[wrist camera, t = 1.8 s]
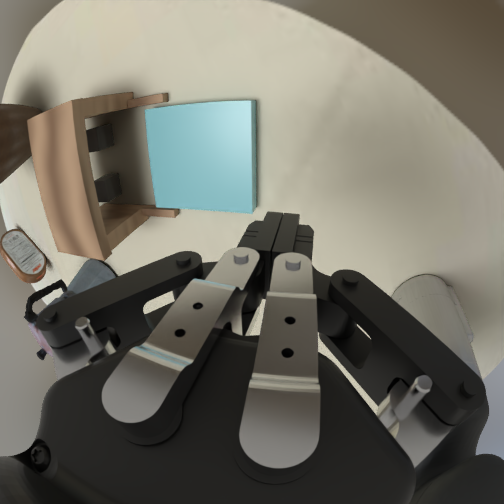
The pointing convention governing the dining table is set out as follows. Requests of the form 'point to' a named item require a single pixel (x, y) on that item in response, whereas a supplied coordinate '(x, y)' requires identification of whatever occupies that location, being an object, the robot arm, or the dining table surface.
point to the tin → (23, 256)
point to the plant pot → (14, 137)
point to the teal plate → (204, 155)
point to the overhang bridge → (84, 177)
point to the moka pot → (66, 295)
